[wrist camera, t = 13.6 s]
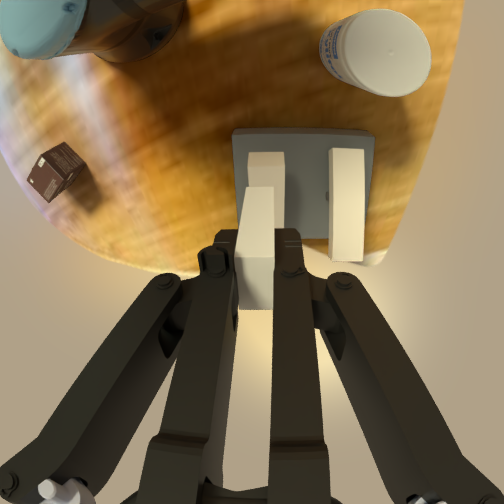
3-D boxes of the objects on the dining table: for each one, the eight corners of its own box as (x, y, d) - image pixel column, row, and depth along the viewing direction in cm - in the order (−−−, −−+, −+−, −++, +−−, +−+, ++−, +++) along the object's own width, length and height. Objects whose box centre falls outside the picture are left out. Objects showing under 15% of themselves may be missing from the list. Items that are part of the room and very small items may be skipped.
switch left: (254, 235, 46) (254, 251, 44) (248, 152, 35) (247, 166, 33) (282, 235, 45) (283, 251, 43) (283, 151, 35) (284, 166, 33)
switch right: (328, 256, 41) (332, 261, 38) (328, 150, 39) (332, 147, 36) (356, 256, 41) (362, 261, 38) (357, 152, 38) (363, 149, 35)
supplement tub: (305, 34, 34) (322, 22, 22) (365, 12, 31) (407, -5, 18) (338, 94, 38) (369, 112, 26) (395, 72, 35) (446, 82, 23)
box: (70, 185, 48) (48, 204, 42) (49, 163, 46) (25, 180, 40) (87, 163, 46) (64, 180, 40) (64, 140, 43) (39, 154, 37)
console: (241, 227, 51) (237, 250, 46) (234, 128, 42) (229, 139, 37) (356, 226, 50) (366, 249, 45) (367, 130, 41) (381, 142, 35)
